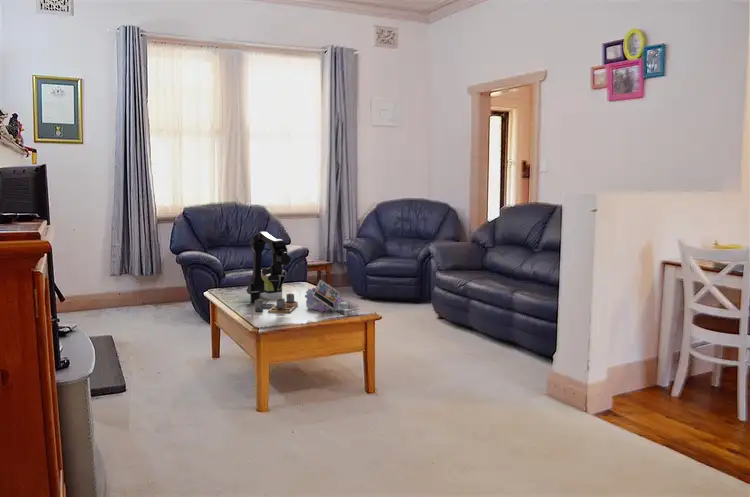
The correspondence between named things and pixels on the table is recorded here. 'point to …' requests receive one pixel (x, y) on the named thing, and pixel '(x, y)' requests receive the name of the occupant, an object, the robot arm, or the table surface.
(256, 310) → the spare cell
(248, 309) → the table surface
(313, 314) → the table surface
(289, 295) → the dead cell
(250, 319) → the table surface
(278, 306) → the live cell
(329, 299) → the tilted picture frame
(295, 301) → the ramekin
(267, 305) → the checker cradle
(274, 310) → the trough board
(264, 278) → the tea box
